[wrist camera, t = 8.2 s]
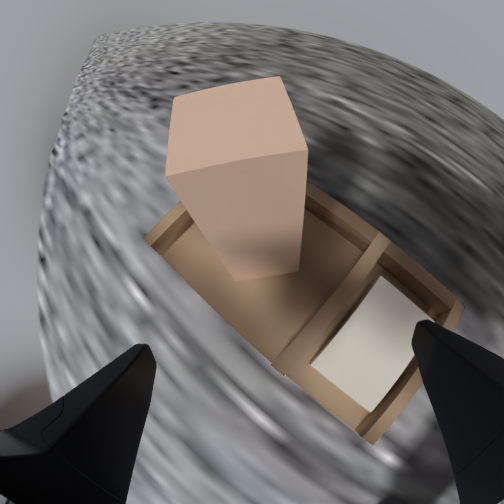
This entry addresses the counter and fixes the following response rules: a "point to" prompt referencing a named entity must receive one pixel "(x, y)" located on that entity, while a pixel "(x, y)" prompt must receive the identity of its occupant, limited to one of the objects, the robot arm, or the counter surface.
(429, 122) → the counter surface
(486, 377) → the robot arm
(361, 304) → the clay tile
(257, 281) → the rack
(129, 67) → the counter surface
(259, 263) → the clay bar
